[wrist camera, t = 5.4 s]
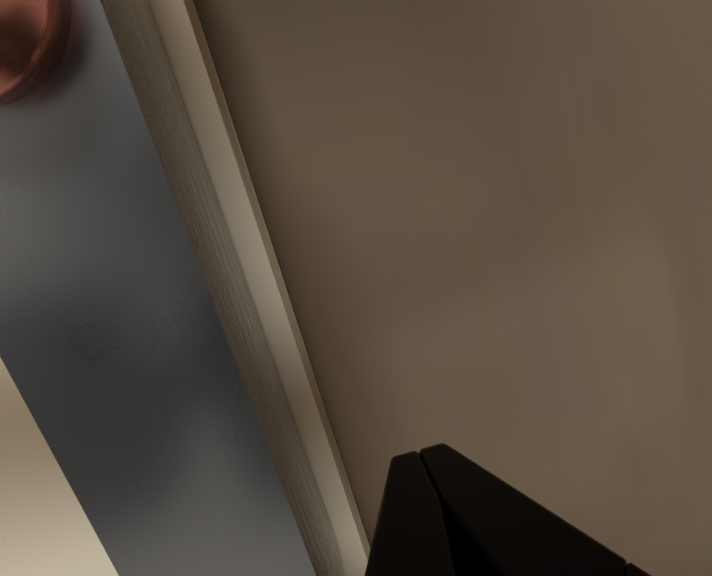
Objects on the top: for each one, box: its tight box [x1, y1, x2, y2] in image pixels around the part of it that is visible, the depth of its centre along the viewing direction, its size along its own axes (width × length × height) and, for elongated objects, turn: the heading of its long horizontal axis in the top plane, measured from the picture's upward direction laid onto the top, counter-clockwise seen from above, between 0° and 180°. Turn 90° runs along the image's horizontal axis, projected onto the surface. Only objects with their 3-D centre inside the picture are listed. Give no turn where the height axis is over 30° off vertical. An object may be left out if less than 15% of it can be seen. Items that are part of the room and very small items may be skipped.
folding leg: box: [0, 0, 341, 576], centre depth 7 cm, size 10×2×3 cm, turn 15°
